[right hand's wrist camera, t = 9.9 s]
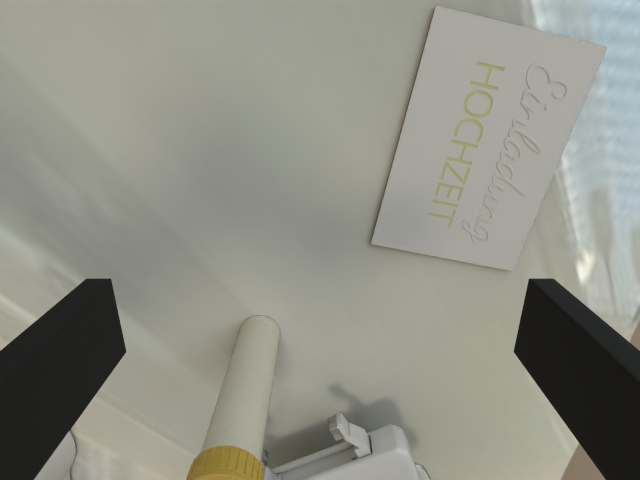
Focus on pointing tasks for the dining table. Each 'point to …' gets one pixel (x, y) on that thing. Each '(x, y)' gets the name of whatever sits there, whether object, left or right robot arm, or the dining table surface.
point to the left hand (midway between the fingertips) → (292, 435)
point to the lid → (226, 465)
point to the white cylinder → (246, 389)
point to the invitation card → (482, 137)
